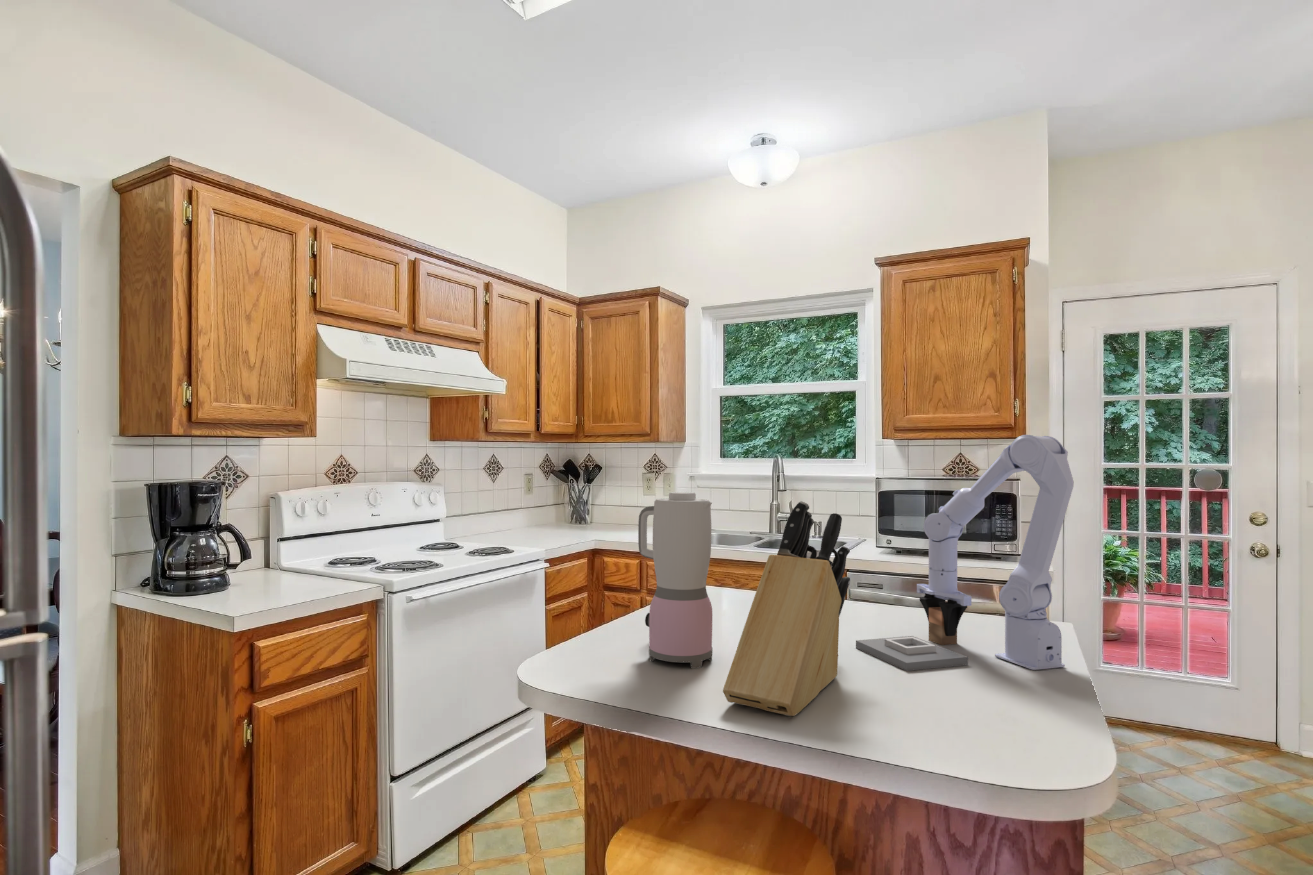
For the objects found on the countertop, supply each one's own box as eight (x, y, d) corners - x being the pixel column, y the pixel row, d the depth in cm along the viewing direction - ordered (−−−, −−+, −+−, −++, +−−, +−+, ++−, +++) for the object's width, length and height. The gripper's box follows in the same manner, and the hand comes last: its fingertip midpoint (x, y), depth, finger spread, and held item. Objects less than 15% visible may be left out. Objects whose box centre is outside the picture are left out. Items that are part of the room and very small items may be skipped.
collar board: (967, 664, 131) (968, 650, 131) (906, 670, 127) (906, 656, 127) (912, 642, 147) (912, 630, 147) (855, 647, 142) (855, 634, 142)
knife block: (854, 664, 130) (855, 501, 131) (790, 725, 100) (792, 513, 101) (796, 655, 136) (798, 498, 137) (720, 710, 106) (722, 509, 107)
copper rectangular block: (957, 643, 147) (957, 610, 147) (941, 645, 145) (941, 611, 146) (943, 638, 150) (943, 606, 151) (928, 640, 149) (928, 607, 149)
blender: (722, 656, 135) (724, 492, 136) (697, 673, 124) (699, 495, 125) (651, 645, 142) (653, 489, 143) (621, 660, 131) (624, 492, 132)
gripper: (905, 564, 154) (905, 625, 154) (951, 575, 140) (951, 642, 140) (931, 563, 156) (931, 624, 156) (979, 574, 142) (979, 640, 142)
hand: (942, 632), depth 148 cm, fingers closed on copper rectangular block, 4 cm apart
